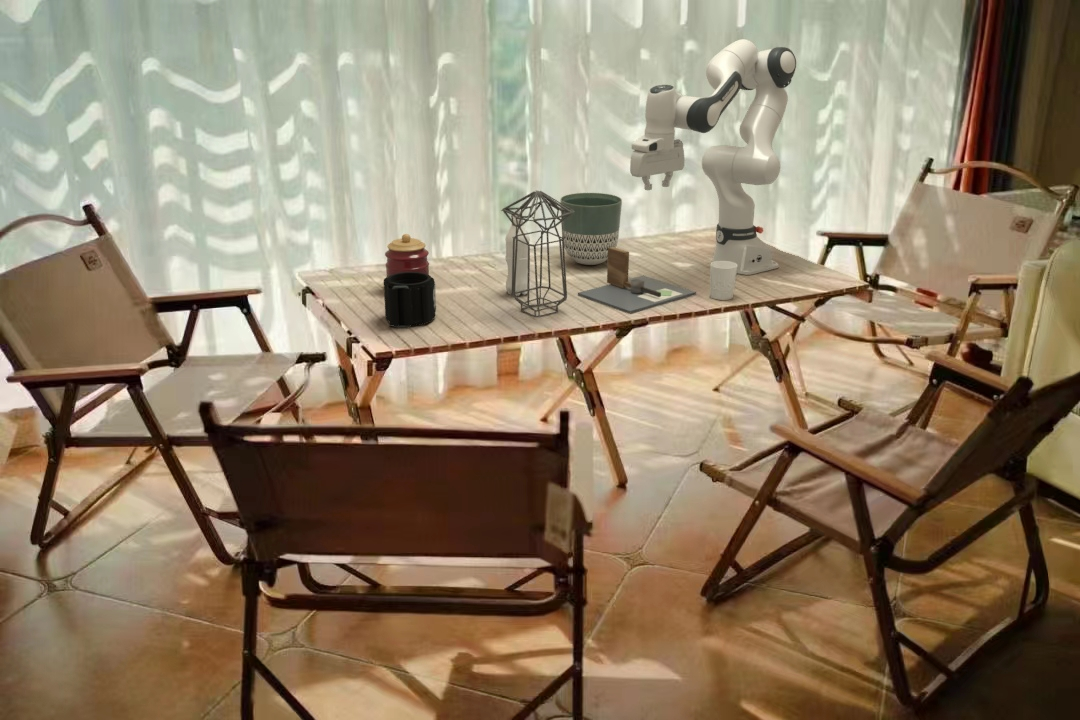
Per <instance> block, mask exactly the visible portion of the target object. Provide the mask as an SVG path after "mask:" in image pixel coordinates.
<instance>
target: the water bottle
mask: <svg viewBox="0 0 1080 720" xmlns="http://www.w3.org/2000/svg"><path fill="white" fill-rule="evenodd" d="M512 211H513V212H515V211H516V210H512ZM520 212H521V210H519V211H518V212H517V214H520ZM523 214H524V212H523V213H522V216H524V215H523ZM512 216H513V215H512ZM515 216H517V215H515ZM519 220H520V219H517V221H518V224H519ZM513 222H514V223H515V224H516V225H517V223H516V218H515V217H514V216H513ZM523 222H524V220H521V223H523ZM521 223H520V224H521ZM517 228H518V227H517ZM521 229H522V231H523V233H524V234H525V233H529V232H528V229H526V226H525V224H523V225H522V226H521ZM520 234H522V233H521V231H520V229H519V231H518V235H520ZM515 235H516V226H514V225H512V223H511V224H510V227H509V229H508V231H507V233H506V236H505V238H504V239H505V262H506V266H507V276H506V277H507V278H506V281H505V288H506V291H507V293H508V294H509V295H512V260H513V238H512V237H515ZM525 236H526V238H527V240H528V242H529V243H530V241H531V240H530V239H531V238H530V234H527V235H525ZM518 239H519V240H521V241H523V242H525V243H527V242H526V240H525V238H524V236H523V235H522V236H518ZM515 247H516V240H515ZM514 267H515V255H514ZM527 287H528V245H526V244H524V243H522V242H520V241H518V245H517V264H516V284H515V292H518V291H522V290H526V289H527ZM530 287H531V282H530V281H529V288H530ZM515 295H516V296H517V297H519V296H520V295H523V296H526V295H527V291H526V292H522V293H517V294H515Z"/></svg>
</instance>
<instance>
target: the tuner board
mask: <svg viewBox="0 0 1080 720" xmlns="http://www.w3.org/2000/svg"><path fill="white" fill-rule="evenodd" d="M633 279H641V280H644V287H645V288H648V289H651V290H654V291H657V292H661V297H657V296H654V295H651V294H648V293H645V292H643V293H632V292H631V288H628V287H625V288H621V287H618V286H615V285H612V284H609V283H608V284H605V285H602V286H599V287H595V288H590V289H587V290H584V291H579V292H577V296H578V297H582V298H585V299H587V300H590V301H594V302H596V303H598V304H602V305H603V306H604V305H605V306H608V307H610V308H612V309H616V310H619V311H621V312H623V313H627V314H630V315H631V314H634V313H637V312H640V311H641V312H642V311H645V310H648V309H651V308H655V307H658V306H662V305H665V304H668V303H671V302H675V301H679V300H682V299H686V298H689V297H692V296H695V295H697V291H694V290H691V289H689V288H686V287H682V286H679V285H675V284H672V283H669V282H666V281H663V280H660V279H655V278H652V277H651V276H647V275H644V274H643V275H640V276H636V277H632V278H628V282H631V280H633Z"/></svg>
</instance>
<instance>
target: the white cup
mask: <svg viewBox="0 0 1080 720" xmlns="http://www.w3.org/2000/svg"><path fill="white" fill-rule="evenodd" d="M711 262H712V261H711ZM737 274H738V273H737V264H736V263H733V262H729V261H715V262H712V263H710V265H709V288H710V289H709V290H710V291H709V292H710V293H709V297H710V298H711V299H715V300H716V301H717V300H719V301H729V300H732V299H733V297H734V290H735V287H736V286H735V285H736V280H737Z"/></svg>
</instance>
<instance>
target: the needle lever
mask: <svg viewBox="0 0 1080 720" xmlns="http://www.w3.org/2000/svg"><path fill="white" fill-rule="evenodd" d="M629 259H630V251H628V250H626V249H621V248H618V247H616V248H615V247H610V248H608V259H607V269H606V270H607V271H606V272H607V274H606V276H607V277H606V283H607V284H608V285H609V284H612V285H615V286H618V287H621V288H625V287H628V288H631V292H632V293H643V292H645V293H648V294H651V295H654V296H657V297H661V292H657V291H654V290H651V289H648V288H645V287H644V280H641V279H633V280H631V282H628V279H629V264H630V263H629V261H630V260H629Z"/></svg>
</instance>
